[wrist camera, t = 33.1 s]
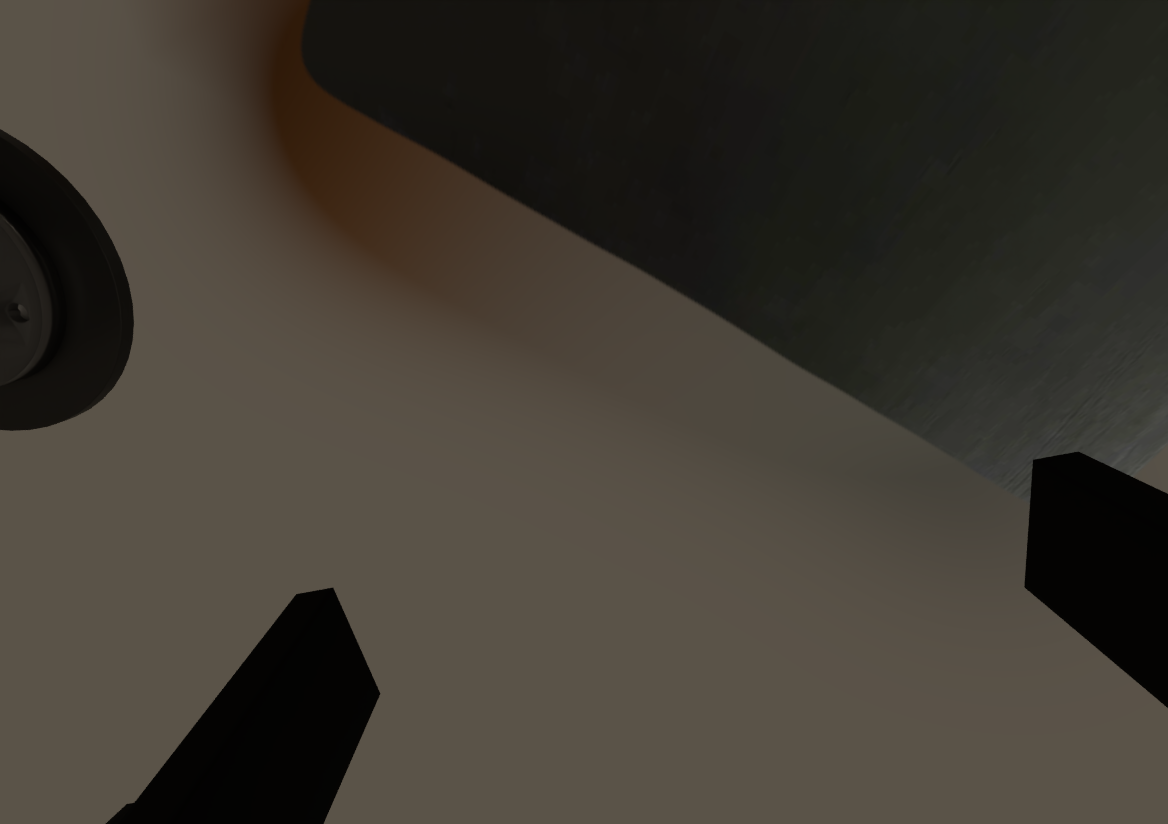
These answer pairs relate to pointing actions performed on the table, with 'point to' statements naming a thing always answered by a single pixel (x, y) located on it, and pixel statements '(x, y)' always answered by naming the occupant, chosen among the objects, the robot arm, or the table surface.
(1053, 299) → the table surface
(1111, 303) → the table surface
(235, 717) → the robot arm
